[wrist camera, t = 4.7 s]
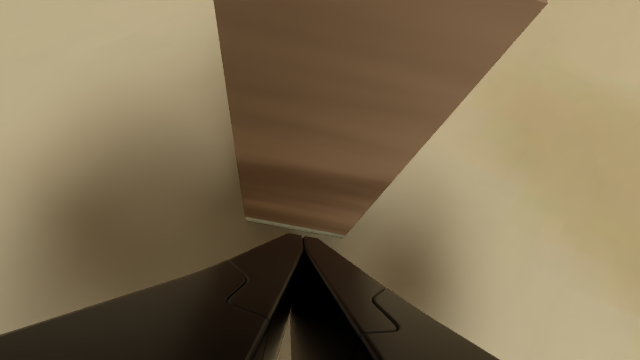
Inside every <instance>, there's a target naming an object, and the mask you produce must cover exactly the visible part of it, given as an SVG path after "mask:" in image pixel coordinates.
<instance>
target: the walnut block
mask: <svg viewBox="0 0 640 360" xmlns="http://www.w3.org/2000/svg"><path fill="white" fill-rule="evenodd" d="M547 4H548V3H547V0H214V6H215V13H216V20H217V27H218V34H219V41H220V48H221V55H222V62H223V69H224V76H225V83H226V90H227V97H228V103H229V110H230V117H231V124H232V131H233V138H234V145H235V152H236V159H237V166H238V173H239V180H240V187H241V194H242V201H243V207H244V214H245V220H247V221H252V222H258V223H263V224H268V225H274V226H279V227H284V228H290V229H295V230H300V231H306V232H311V233H316V234H322V235H327V236H332V237H338V238H343V237H344V236H345V235H346V234H347V233H348V232H349V230H350V229H351V228H352V227H353V226H354V225H355V224H356V222H357V221H358V220H359V219H360V218H361V217H362V216H363V214H364V213H365V212H366V211H367V210H368V209H369V207H370V206H371V205H372V204H373V203H374V202H375V201H376V199H377V198H378V197H379V196H380V195H381V194H382V193H383V191H384V190H385V189H386V188H387V187H388V186H389V185H390V183H391V182H392V181H393V180H394V179H395V178H396V177H397V175H398V174H399V173H400V172H401V171H402V170H403V169H404V167H405V166H406V165H407V164H408V163H409V162H410V161H411V159H412V158H413V157H414V156H415V155H416V154H417V152H418V151H419V150H420V149H421V148H422V147H423V146H424V144H425V143H426V142H427V141H428V140H429V139H430V138H431V136H432V135H433V134H434V133H435V132H436V131H437V130H438V128H439V127H440V126H441V125H442V124H443V123H444V122H445V120H446V119H447V118H448V117H449V116H450V115H451V114H452V112H453V111H454V110H455V109H456V108H457V107H458V106H459V104H460V103H461V102H462V101H463V100H464V99H465V97H466V96H467V95H468V94H469V93H470V92H471V91H472V89H473V88H474V87H475V86H476V85H477V84H478V83H479V81H480V80H481V79H482V78H483V77H484V76H485V75H486V73H487V72H488V71H489V70H490V69H491V68H492V67H493V65H494V64H495V63H496V62H497V61H498V60H499V59H500V57H501V56H502V55H503V54H504V53H505V52H506V51H507V49H508V48H509V47H510V46H511V45H512V44H513V42H514V41H515V40H516V39H517V38H518V37H519V36H520V34H521V33H522V32H523V31H524V30H525V29H526V28H527V26H528V25H529V24H530V23H531V22H532V21H533V20H534V18H535V17H536V16H537V15H538V14H539V13H540V12H541V10H542V9H543V8H544V7H545V6H546V5H547Z"/></svg>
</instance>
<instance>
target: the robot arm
mask: <svg viewBox="0 0 640 360" xmlns="http://www.w3.org/2000/svg"><path fill="white" fill-rule="evenodd" d="M290 309H291V312H290ZM289 313H290V326H291V359H292V360H499V359H498V358H496V357H495V356H493V355H491V354H490V353H488V352H486V351H485V350H483V349H482V348H480V347H478V346H477V345H475V344H473V343H472V342H470V341H469V340H467V339H465V338H464V337H462V336H460V335H459V334H457V333H456V332H454V331H452V330H451V329H449V328H447V327H446V326H444V325H443V324H441V323H439V322H438V321H436V320H434V319H433V318H431V317H430V316H428V315H427V314H425V313H423V312H422V311H420V310H419V309H417V308H416V307H414V306H413V305H411V304H410V303H408V302H407V301H405V300H404V299H402V298H401V297H399V296H398V295H397V294H395V293H394V292H392V291H391V290H390V289H388V288H387V289H386V287H384V286H383V285H382V284H380V283H379V282H377V281H376V280H375V279H373V278H372V277H370V276H369V275H368V274H366V273H365V272H363V271H362V270H361V269H359V268H358V267H356V266H355V265H354V264H352V263H351V262H350V261H348V260H347V259H345V258H344V257H343V256H341V255H340V254H338V253H337V252H336V251H334V250H333V249H331V248H330V247H329V246H327V245H326V244H324V243H323V242H322V241H320V240H319V239H317V238H312V237H307V236H304V237H303V238H302V236H301V235H296V234H290V233H288V234H285V235H283V236H281V237H278V238H276V239H274V240H272V241H270V242H267V243H265V244H263V245H261V246H258V247H256V248H254V249H252V250H249V251H247V252H245V253H243V254H240V255H238V256H236V257H234V258H232V259H229V260H227V261H223V262H221V263H219V264H217V265H214V266H212V267H209V268H207V269H204V270H202V271H199V272H196V273H193V274H190V275H187V276H184V277H181V278H178V279H175V280H172V281H169V282H166V283H162V284H159V285H156V286H153V287H150V288H147V289H144V290H140V291H137V292H134V293H131V294H128V295H125V296H121V297H118V298H115V299H112V300H109V301H106V302H103V303H99V304H96V305H93V306H90V307H87V308H84V309H81V310H77V311H74V312H71V313H68V314H65V315H62V316H58V317H55V318H52V319H49V320H46V321H43V322H40V323H36V324H33V325H30V326H27V327H24V328H21V329H17V330H14V331H11V332H8V333H5V334H2V335H0V360H276V359H277V356H278V352H279V349H280V345H281V342H282V339H283V335H284V332H285V328H286V325H287V321H288V317H289Z"/></svg>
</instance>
